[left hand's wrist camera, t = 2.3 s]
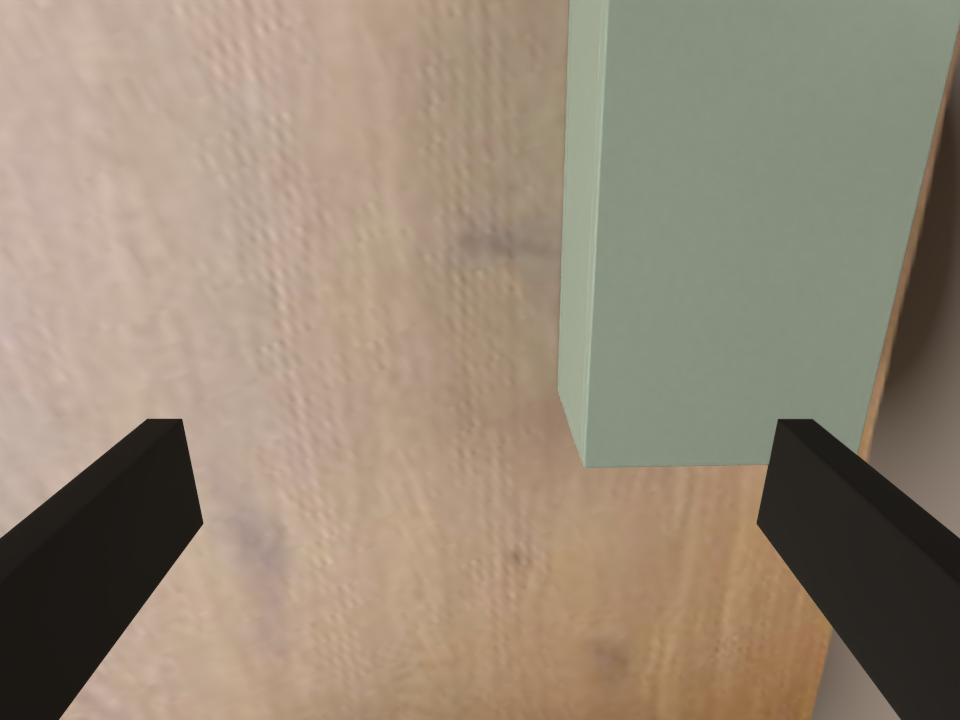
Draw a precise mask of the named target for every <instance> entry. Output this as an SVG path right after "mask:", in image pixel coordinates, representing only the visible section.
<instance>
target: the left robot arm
mask: <svg viewBox="0 0 960 720" xmlns="http://www.w3.org/2000/svg"><path fill="white" fill-rule="evenodd" d="M202 525H203V519H202V514H201V509H200V504H199V499H198V494H197V490H196V485H195V480H194V475H193V470H192V465H191V460H190V455H189V450H188V445H187V441H186V436H185V431H184V426H183V421H182V419H147V420H145V421H144V422H143V423H142V424H140V425H139V426H138V427H137V428H136V429H134V430H133V431H132V432H131V433H129V434H128V435H127V436H126V437H124V438H123V439H122V440H121V441H120V442H118V443H117V444H116V445H115V446H113V447H112V448H111V449H110V450H108V451H107V452H106V453H105V454H104V455H102V456H101V457H100V458H99V459H97V460H96V461H95V462H94V463H93V464H91V465H90V466H89V467H88V468H86V469H85V470H84V471H83V472H81V473H80V474H79V475H78V476H77V477H75V478H74V479H73V480H72V481H70V482H69V483H68V484H67V485H65V486H64V487H63V488H62V489H61V490H59V491H58V492H57V493H56V494H54V495H53V496H52V497H51V498H49V499H48V500H47V501H46V502H45V503H43V504H42V505H41V506H40V507H38V508H37V509H36V510H35V511H34V512H32V513H31V514H30V515H29V516H27V517H26V518H25V519H24V520H22V521H21V522H20V523H19V524H18V525H16V526H15V527H14V528H13V529H11V530H10V531H9V532H8V533H6V534H5V535H4V536H3V537H2V538H0V720H59V719H60V717H61V716H62V715H63V713H64V712H65V711H66V709H67V708H68V707H69V705H70V704H71V703H72V701H73V700H74V698H75V697H76V696H77V694H78V693H79V692H80V690H81V689H82V688H83V686H84V685H85V684H86V682H87V681H88V679H89V678H90V677H91V675H92V674H93V673H94V671H95V670H96V669H97V667H98V666H99V665H100V663H101V662H102V660H103V659H104V658H105V656H106V655H107V654H108V652H109V651H110V650H111V648H112V647H113V646H114V644H115V643H116V641H117V640H118V639H119V637H120V636H121V635H122V633H123V632H124V631H125V629H126V628H127V627H128V625H129V624H130V622H131V621H132V620H133V618H134V617H135V616H136V614H137V613H138V612H139V610H140V609H141V608H142V606H143V605H144V603H145V602H146V601H147V599H148V598H149V597H150V595H151V594H152V593H153V591H154V590H155V589H156V587H157V586H158V585H159V583H160V582H161V580H162V579H163V578H164V576H165V575H166V574H167V572H168V571H169V570H170V568H171V567H172V566H173V564H174V563H175V561H176V560H177V559H178V557H179V556H180V555H181V553H182V552H183V551H184V549H185V548H186V547H187V545H188V544H189V542H190V541H191V540H192V538H193V537H194V536H195V534H196V533H197V532H198V530H199V529H200V528H201V526H202ZM757 525H758V526H759V528H760V529H761V530H762V532H763V533H764V534H765V536H766V537H767V538H768V540H769V541H770V542H771V544H772V545H773V547H774V548H775V549H776V551H777V552H778V553H779V555H780V556H781V557H782V559H783V560H784V561H785V563H786V564H787V566H788V567H789V568H790V570H791V571H792V572H793V574H794V575H795V576H796V578H797V579H798V580H799V582H800V583H801V585H802V586H803V587H804V589H805V590H806V591H807V593H808V594H809V595H810V597H811V598H812V599H813V601H814V602H815V603H816V605H817V606H818V608H819V609H820V610H821V612H822V613H823V614H824V616H825V617H826V618H827V620H828V621H829V622H830V624H831V625H832V627H833V628H834V629H835V631H836V632H837V633H838V635H839V636H840V637H841V639H842V640H843V641H844V643H845V644H846V645H847V647H848V648H849V650H850V651H851V652H852V654H853V655H854V656H855V658H856V659H857V660H858V662H859V663H860V664H861V666H862V667H863V669H864V670H865V671H866V673H867V674H868V675H869V677H870V678H871V679H872V681H873V682H874V683H875V685H876V686H877V688H878V689H879V690H880V692H881V693H882V694H883V696H884V697H885V698H886V700H887V701H888V702H889V704H890V705H891V707H892V708H893V709H894V711H895V712H896V713H897V715H898V716H899V717H900V719H901V720H960V538H958V537H957V536H956V535H955V534H953V533H952V532H951V531H950V530H949V529H947V528H946V527H945V526H944V525H942V524H941V523H940V522H939V521H937V520H936V519H935V518H934V517H933V516H931V515H930V514H929V513H928V512H926V511H925V510H924V509H923V508H922V507H920V506H919V505H918V504H917V503H915V502H914V501H913V500H912V499H911V498H909V497H908V496H907V495H906V494H904V493H903V492H902V491H901V490H899V489H898V488H897V487H896V486H895V485H893V484H892V483H891V482H890V481H888V480H887V479H886V478H885V477H883V476H882V475H881V474H880V473H879V472H877V471H876V470H875V469H874V468H872V467H871V466H870V465H869V464H867V463H866V462H865V461H864V460H863V459H861V458H860V457H859V456H858V455H856V454H855V453H854V452H853V451H852V450H850V449H849V448H848V447H847V446H845V445H844V444H843V443H842V442H840V441H839V440H838V439H837V438H836V437H834V436H833V435H832V434H831V433H829V432H828V431H827V430H826V429H824V428H823V427H822V426H821V425H820V424H818V423H817V422H816V421H815V420H813V419H778V421H777V426H776V431H775V436H774V441H773V445H772V450H771V455H770V460H769V465H768V470H767V475H766V480H765V485H764V490H763V495H762V499H761V504H760V509H759V514H758V519H757Z"/></svg>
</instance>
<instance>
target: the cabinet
mask: <svg viewBox="0 0 960 720" xmlns="http://www.w3.org/2000/svg"><path fill="white" fill-rule="evenodd" d="M959 26H960V0H570V1H569V33H568V66H567V98H566V130H565V162H564V194H563V226H562V258H561V290H560V323H559V355H558V387H557V391H558V393H559V396H560V399H561V402H562V405H563V408H564V411H565V414H566V417H567V420H568V423H569V426H570V429H571V432H572V435H573V438H574V441H575V444H576V447H577V450H578V453H579V456H580V458H581V461H582V464H583V467H584V468H608V467H664V466H719V465H769V460H770V455H771V450H772V445H773V441H774V436H775V431H776V426H777V421H778V419H813V420H815V421H816V422H817V423H818V424H820V425H821V426H822V427H823V428H824V429H826V430H827V431H828V432H829V433H831V434H832V435H833V436H834V437H836V438H837V439H838V440H839V441H840V442H842V443H843V444H844V445H845V446H847V447H848V448H849V449H850V450H852V451H853V452H854V453H855V454H856V455H858V451H859V446H860V442H861V438H862V434H863V430H864V425H865V421H866V417H867V413H868V409H869V404H870V400H871V396H872V392H873V388H874V383H875V379H876V375H877V371H878V367H879V362H880V358H881V354H882V350H883V346H884V341H885V337H886V333H887V329H888V325H889V320H890V316H891V312H892V308H893V304H894V299H895V295H896V291H897V287H898V283H899V278H900V274H901V270H902V266H903V262H904V257H905V253H906V249H907V245H908V241H909V236H910V232H911V228H912V224H913V220H914V215H915V211H916V207H917V203H918V199H919V194H920V190H921V186H922V182H923V178H924V173H925V169H926V165H927V161H928V157H929V152H930V148H931V144H932V140H933V135H934V131H935V127H936V123H937V119H938V114H939V110H940V106H941V102H942V98H943V93H944V89H945V85H946V81H947V77H948V72H949V68H950V64H951V60H952V56H953V51H954V47H955V43H956V39H957V35H958V30H959Z"/></svg>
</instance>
